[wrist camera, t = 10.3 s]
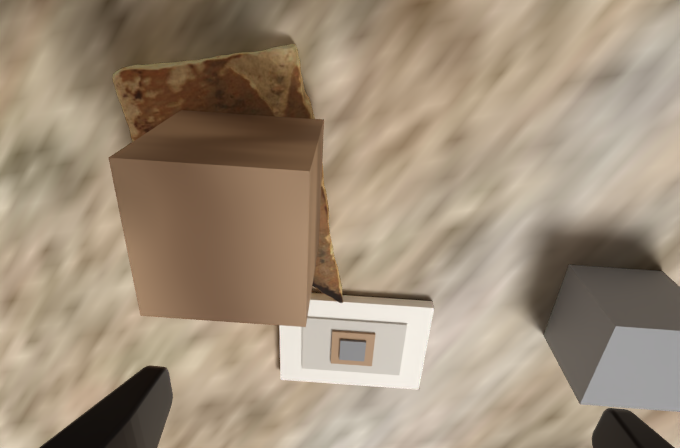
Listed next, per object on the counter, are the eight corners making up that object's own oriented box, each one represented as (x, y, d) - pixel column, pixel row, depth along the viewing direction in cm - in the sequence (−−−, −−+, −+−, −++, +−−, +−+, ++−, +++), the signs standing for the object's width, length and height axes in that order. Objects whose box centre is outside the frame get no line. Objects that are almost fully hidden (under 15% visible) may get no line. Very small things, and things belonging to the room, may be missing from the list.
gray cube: (661, 270, 19) (730, 334, 15) (627, 340, 21) (682, 411, 17) (568, 263, 19) (615, 326, 15) (542, 334, 21) (580, 404, 17)
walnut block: (323, 119, 15) (310, 171, 11) (318, 243, 17) (305, 327, 13) (181, 110, 15) (108, 157, 11) (195, 234, 18) (140, 315, 13)
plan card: (432, 301, 20) (435, 313, 19) (417, 381, 22) (419, 394, 22) (280, 290, 20) (277, 302, 19) (282, 372, 22) (279, 384, 22)
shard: (344, 284, 21) (343, 308, 19) (190, 296, 21) (176, 320, 20) (307, 38, 16) (301, 43, 14) (108, 65, 16) (80, 73, 15)
